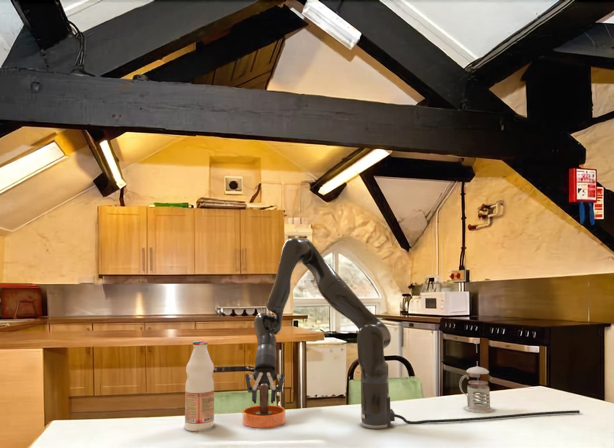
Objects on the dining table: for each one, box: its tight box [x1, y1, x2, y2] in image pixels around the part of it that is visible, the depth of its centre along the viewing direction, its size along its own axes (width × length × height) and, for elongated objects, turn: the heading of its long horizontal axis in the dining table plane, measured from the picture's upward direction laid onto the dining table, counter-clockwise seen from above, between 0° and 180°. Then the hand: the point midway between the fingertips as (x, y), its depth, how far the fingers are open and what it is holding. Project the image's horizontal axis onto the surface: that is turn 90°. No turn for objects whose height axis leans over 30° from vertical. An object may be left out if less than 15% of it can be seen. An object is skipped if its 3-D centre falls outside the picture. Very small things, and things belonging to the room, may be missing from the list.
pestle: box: [256, 383, 272, 416], centre depth 177 cm, size 5×5×13 cm
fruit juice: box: [184, 339, 215, 432], centre depth 175 cm, size 9×9×28 cm
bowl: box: [241, 404, 286, 429], centre depth 177 cm, size 14×14×4 cm
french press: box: [458, 339, 494, 414], centre depth 195 cm, size 10×12×25 cm
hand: (263, 402), depth 175 cm, fingers open, 5 cm apart
